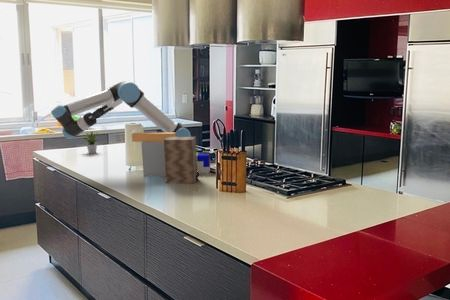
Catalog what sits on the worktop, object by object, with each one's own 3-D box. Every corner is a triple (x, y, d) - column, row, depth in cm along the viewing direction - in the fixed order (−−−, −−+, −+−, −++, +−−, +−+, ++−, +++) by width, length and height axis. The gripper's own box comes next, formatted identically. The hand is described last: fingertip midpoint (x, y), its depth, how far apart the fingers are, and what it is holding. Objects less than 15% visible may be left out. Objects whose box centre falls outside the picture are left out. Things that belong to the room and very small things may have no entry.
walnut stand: (166, 182, 250) (163, 139, 245) (170, 178, 258) (168, 136, 254) (194, 183, 248) (192, 139, 243) (197, 178, 256) (195, 136, 252)
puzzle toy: (209, 172, 270) (208, 155, 268) (191, 173, 270) (191, 155, 268) (210, 168, 280) (209, 151, 278) (193, 169, 280) (192, 152, 278)
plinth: (143, 175, 267) (141, 142, 263) (148, 172, 275) (146, 139, 272) (171, 175, 264) (169, 142, 261) (175, 172, 273) (173, 139, 270)
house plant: (98, 149, 350) (97, 127, 347) (107, 152, 340) (105, 129, 337) (80, 152, 342) (78, 130, 338) (88, 155, 331) (86, 131, 328)
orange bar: (132, 141, 266) (131, 133, 265) (134, 140, 270) (134, 132, 269) (174, 141, 263) (173, 133, 262) (175, 140, 267) (175, 132, 266)
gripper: (99, 123, 281) (128, 105, 277) (81, 129, 257) (112, 109, 253) (92, 112, 281) (121, 94, 276) (73, 118, 256) (104, 97, 252)
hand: (117, 101), depth 264 cm, fingers open, 13 cm apart
